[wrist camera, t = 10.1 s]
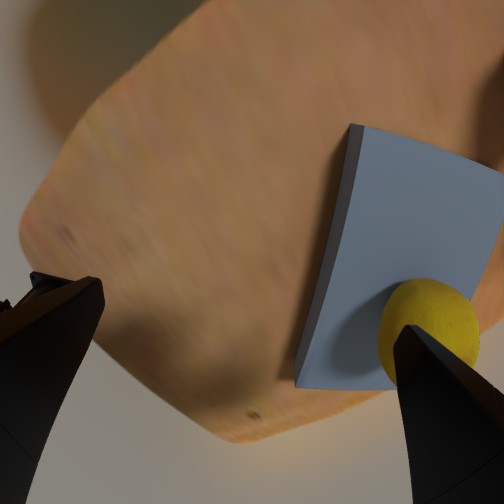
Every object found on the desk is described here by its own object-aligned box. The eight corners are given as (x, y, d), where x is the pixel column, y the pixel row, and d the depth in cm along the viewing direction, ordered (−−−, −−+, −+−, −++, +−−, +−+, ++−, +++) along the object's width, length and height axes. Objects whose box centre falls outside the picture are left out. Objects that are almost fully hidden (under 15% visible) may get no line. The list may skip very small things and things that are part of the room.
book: (293, 362, 25) (294, 387, 23) (350, 123, 16) (364, 126, 14) (408, 366, 25) (416, 388, 22) (490, 169, 16) (514, 179, 13)
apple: (366, 263, 17) (411, 361, 10) (453, 252, 16) (520, 329, 9) (361, 339, 20) (384, 434, 13) (437, 326, 19) (477, 407, 12)
